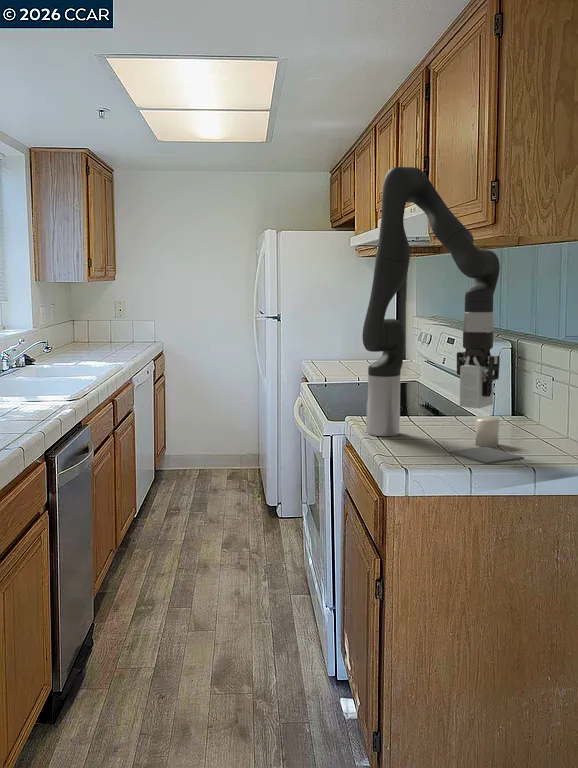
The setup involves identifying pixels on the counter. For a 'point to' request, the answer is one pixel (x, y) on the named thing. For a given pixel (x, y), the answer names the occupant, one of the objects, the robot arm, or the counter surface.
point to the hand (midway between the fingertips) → (476, 394)
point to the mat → (486, 455)
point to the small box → (473, 387)
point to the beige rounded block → (487, 432)
